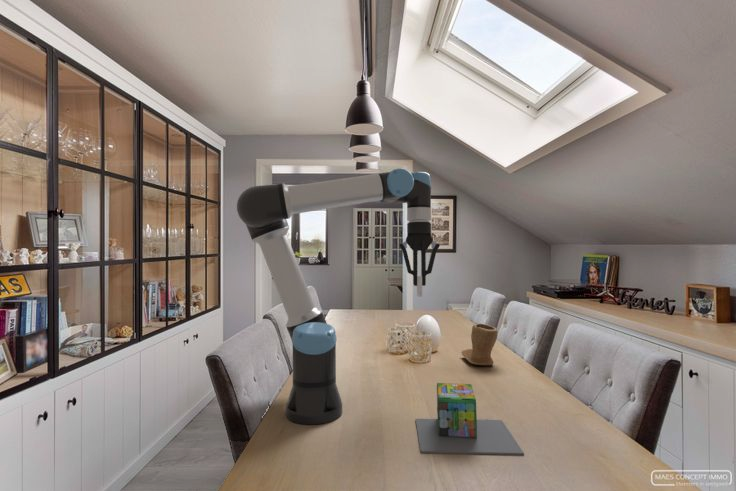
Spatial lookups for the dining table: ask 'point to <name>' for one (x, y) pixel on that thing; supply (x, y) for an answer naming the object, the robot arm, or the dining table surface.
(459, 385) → the chalk box
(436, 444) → the mat
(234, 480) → the dining table surface
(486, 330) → the tan boot
